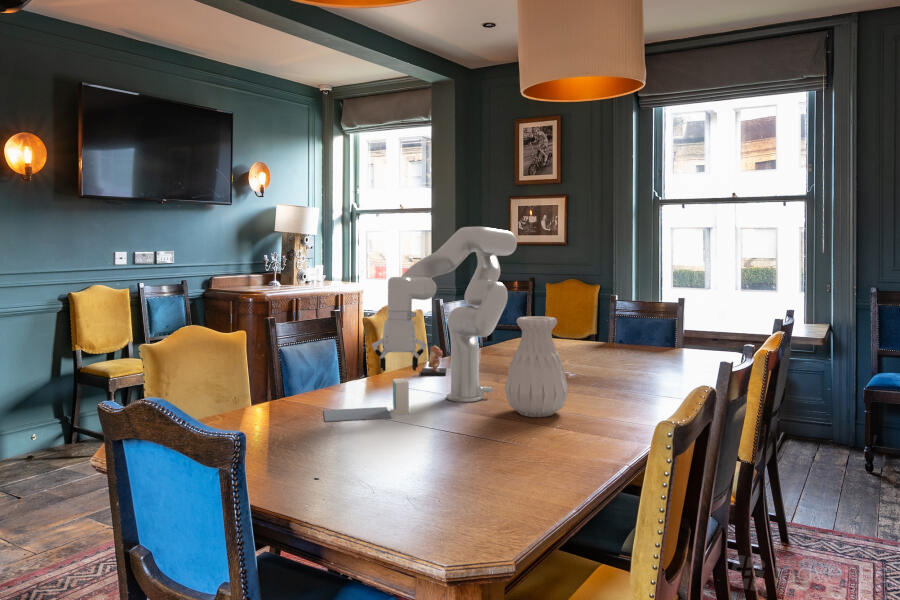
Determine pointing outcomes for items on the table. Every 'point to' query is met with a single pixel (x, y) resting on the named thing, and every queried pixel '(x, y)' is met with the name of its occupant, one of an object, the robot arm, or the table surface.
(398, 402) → the cream block
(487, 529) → the table surface
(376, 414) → the slate mat
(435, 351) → the figurine
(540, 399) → the vase
